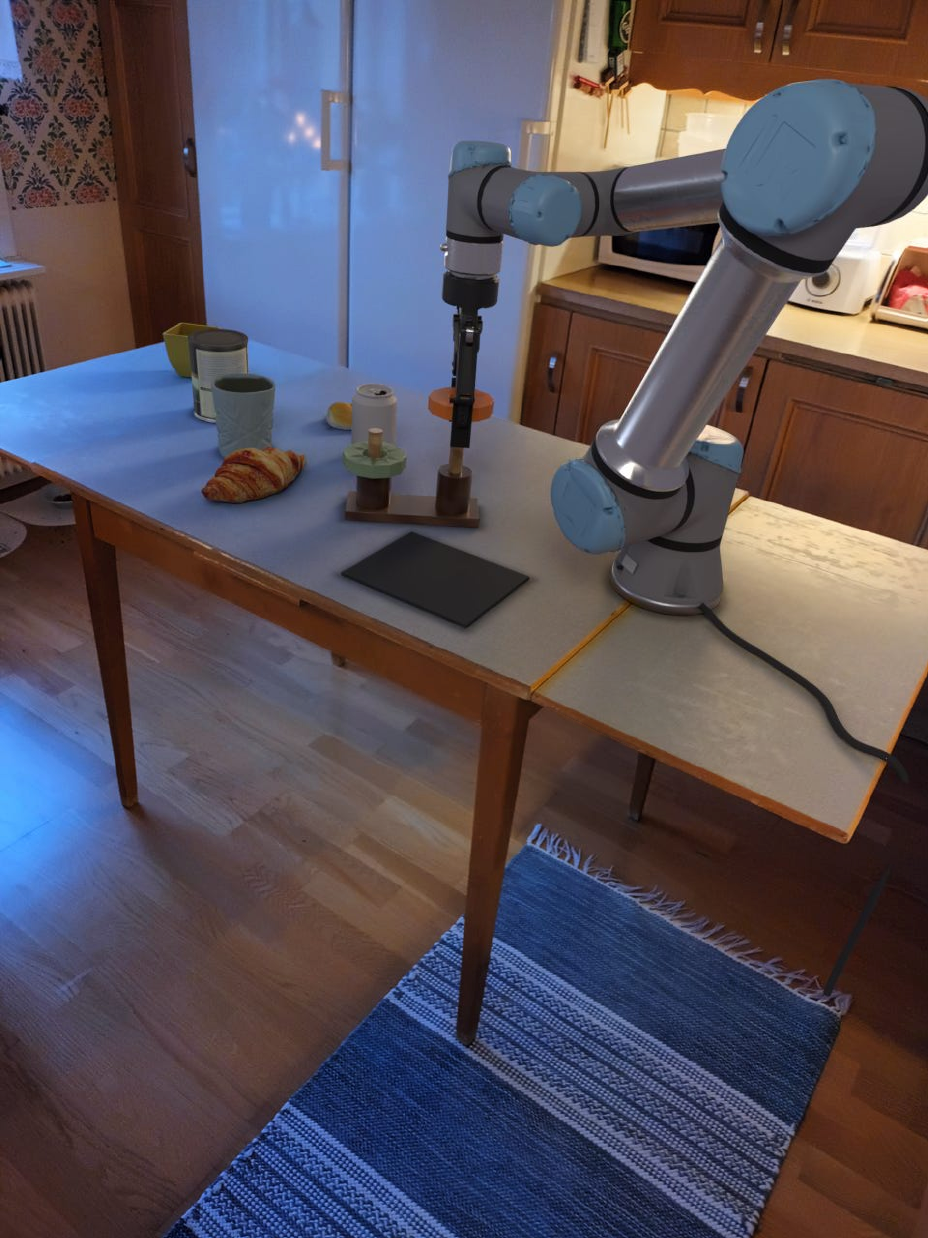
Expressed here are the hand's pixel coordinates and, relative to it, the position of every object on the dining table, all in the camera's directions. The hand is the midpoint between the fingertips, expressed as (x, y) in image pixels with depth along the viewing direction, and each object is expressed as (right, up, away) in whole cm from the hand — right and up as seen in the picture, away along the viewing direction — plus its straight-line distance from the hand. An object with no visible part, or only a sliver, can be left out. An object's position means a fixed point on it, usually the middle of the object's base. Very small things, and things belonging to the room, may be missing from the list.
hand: (458, 433), depth 134 cm
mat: (-3, -21, -9) cm, 23 cm away
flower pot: (-53, +22, +52) cm, 78 cm away
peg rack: (-7, -11, +7) cm, 15 cm away
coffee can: (-44, +11, +36) cm, 57 cm away
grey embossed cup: (-36, +1, +22) cm, 42 cm away
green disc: (-13, -4, +3) cm, 13 cm away
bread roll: (-20, +9, +37) cm, 43 cm away
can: (-15, +1, +24) cm, 29 cm away
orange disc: (0, +3, -2) cm, 3 cm away
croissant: (-31, -7, +10) cm, 34 cm away
